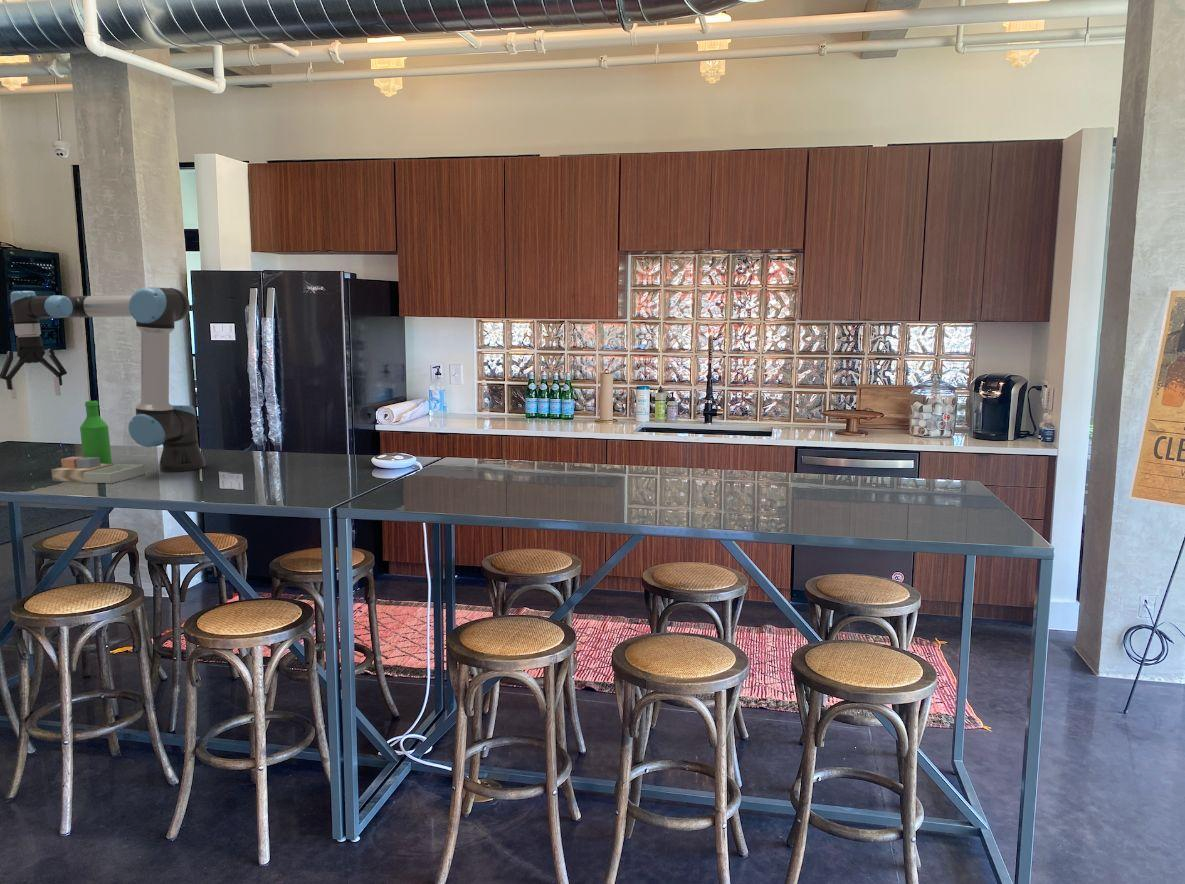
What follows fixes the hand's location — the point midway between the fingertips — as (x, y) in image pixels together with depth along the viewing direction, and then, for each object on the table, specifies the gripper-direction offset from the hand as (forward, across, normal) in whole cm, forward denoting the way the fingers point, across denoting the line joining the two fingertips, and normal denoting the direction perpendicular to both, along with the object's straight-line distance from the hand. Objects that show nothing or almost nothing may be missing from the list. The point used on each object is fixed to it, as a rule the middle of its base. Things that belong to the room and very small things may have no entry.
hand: (36, 397), depth 301 cm
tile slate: (+24, -6, +22) cm, 33 cm away
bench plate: (+28, -5, +19) cm, 34 cm away
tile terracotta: (+24, -4, +16) cm, 29 cm away
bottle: (+28, -15, +5) cm, 32 cm away
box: (+28, -11, +30) cm, 43 cm away
